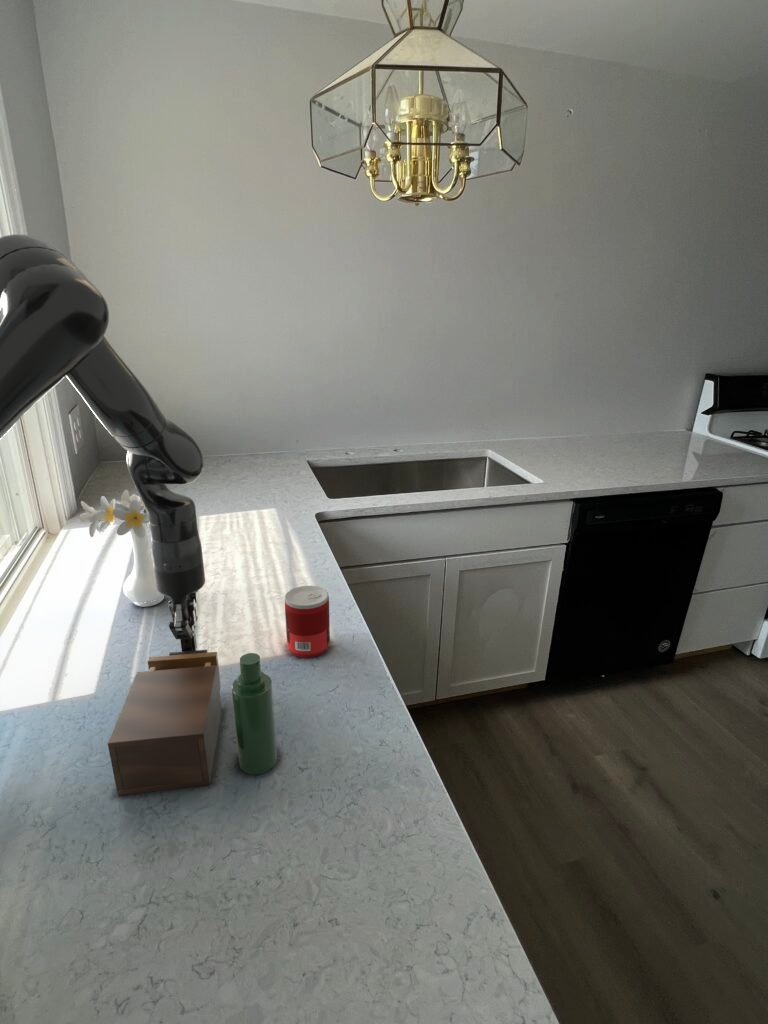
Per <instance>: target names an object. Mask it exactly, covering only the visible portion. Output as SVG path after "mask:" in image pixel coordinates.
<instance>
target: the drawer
mask: <svg viewBox="0 0 768 1024" xmlns="http://www.w3.org/2000/svg"><path fill="white" fill-rule="evenodd" d="M204 666H217V673H218V682H219V691H220V692H221V687H222V685H221V676H220V667H219V657H218V651H208V649H196V650H194V651H182V650H181V651H172V652H169V653H168V655H158V656H149V657H148V660H147V669H148V671H156V670H168V669H180V668H192V667H204Z"/></svg>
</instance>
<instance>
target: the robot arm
mask: <svg viewBox="0 0 768 1024" xmlns="http://www.w3.org/2000/svg"><path fill="white" fill-rule="evenodd" d="M109 322H110V310H109V305H108V303H107V301H106V299H105V297H104V296H103V294H102V293H101V291H100V290H99V289H98V288H97V287H96V285H95V284H94V283H93V282H92V281H91V279H89V278H88V277H87V275H86V274H84V272H82V270H81V269H80V268H79V267H78V266H77V265H76V264H75V262H73V260H71V258H69V257H68V256H67V255H66V254H65V253H64V252H63V251H61V250H60V249H59V248H58V247H56V246H54V245H52V244H51V243H49V242H48V241H46V240H43V239H41V238H39V237H36V236H32V235H28V234H8V235H7V234H6V235H2V236H0V440H2V439H3V438H4V437H5V435H6V434H7V433H8V432H9V431H10V430H11V429H12V428H13V427H14V426H15V425H16V424H17V423H18V422H19V420H20V419H21V418H23V416H24V415H25V414H26V413H27V412H28V411H29V410H30V409H31V408H32V407H34V406H35V404H37V403H38V402H39V401H40V400H41V399H42V398H44V396H45V395H47V393H49V392H50V391H51V390H52V389H53V388H54V387H56V386H57V385H58V384H59V383H60V382H61V381H62V380H64V379H65V378H67V379H68V380H69V382H70V383H71V385H72V386H73V387H74V388H75V390H76V391H77V392H78V394H79V395H80V396H81V398H82V399H83V401H84V402H85V403H86V405H87V406H88V407H89V409H90V410H91V411H92V413H93V414H94V415H95V417H96V418H97V419H98V421H99V422H100V423H101V424H102V425H103V427H104V428H105V429H106V430H107V432H108V433H109V434H110V435H111V436H112V438H114V439H115V441H116V442H117V443H118V445H120V446H121V447H122V448H123V449H124V450H125V451H126V452H127V453H126V466H127V470H128V474H129V476H130V478H131V480H132V482H133V485H134V486H135V488H136V491H137V494H138V495H139V497H141V500H142V502H143V504H144V506H145V508H144V509H146V511H147V514H148V519H149V523H148V527H149V534H150V550H151V551H150V554H151V558H152V561H153V567H154V574H155V581H156V588H157V590H158V591H159V592H160V593H161V594H163V595H164V596H167V597H169V598H171V600H169V601H168V611H169V613H170V614H171V621H169V624H168V628H169V630H170V632H171V634H172V635H173V637H174V639H175V640H180V647H181V652H182V651H194V650H197V648H198V645H197V637H196V636H197V635H196V629H197V623H196V622H197V621H198V591H200V590H201V589H202V588H204V585H206V573H205V565H204V557H203V547H202V541H201V538H200V534H199V526H198V525H199V524H198V516H197V515H198V514H197V508H196V504H195V501H194V499H193V498H191V497H189V496H187V495H184V494H180V493H177V492H176V491H173V490H171V489H170V488H169V487H168V486H167V485H189V484H191V483H192V484H193V483H194V482H196V480H198V479H199V478H200V476H201V475H202V473H203V470H204V464H205V462H204V461H205V460H204V454H203V451H202V449H201V447H200V445H199V444H198V442H197V441H196V439H195V438H194V437H192V435H190V433H188V432H187V431H186V430H185V429H183V428H182V427H181V426H180V425H178V424H176V422H174V421H173V420H171V419H170V418H168V417H167V416H165V414H164V412H163V411H162V409H161V408H160V406H159V405H158V404H157V402H156V400H155V399H154V397H153V396H152V395H151V393H150V392H149V391H148V389H147V388H146V387H145V385H144V384H143V383H142V381H141V380H140V379H139V378H138V377H137V376H136V374H135V373H134V372H133V371H132V369H131V368H130V367H129V366H128V365H127V364H126V362H125V361H124V360H123V359H122V358H121V356H120V355H119V354H118V353H117V351H116V350H115V349H114V347H113V346H112V345H111V344H110V343H109V341H108V340H107V338H106V336H105V334H106V332H107V330H108V327H109Z"/></svg>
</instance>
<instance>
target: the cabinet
mask: <svg viewBox="0 0 768 1024" xmlns="http://www.w3.org/2000/svg"><path fill="white" fill-rule="evenodd" d="M135 672H136V671H135ZM222 713H223V712H222V701H221V690H220V691H219V682H218V673H217V666H204V667H192V668H180V669H168V670H156V671H149V670H146V671H137V672H136V673H135V674H134V678H133V680H132V682H131V685H130V687H129V689H128V692H127V695H126V697H125V700H124V702H123V704H122V707H121V709H120V712H119V714H118V716H117V719H116V722H115V724H114V726H113V729H112V731H111V734H110V736H109V738H108V741H107V748H108V753H109V758H110V763H111V767H112V773H113V779H114V782H115V787H116V792H117V796H125V795H132V794H134V795H135V794H141V793H150V792H159V791H168V790H176V789H183V788H185V789H186V788H193V787H201V786H209V785H211V781H212V773H213V768H214V761H215V755H216V748H217V743H218V737H219V736H218V735H219V731H220V723H221V719H222V718H221V717H222Z"/></svg>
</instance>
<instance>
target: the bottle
mask: <svg viewBox="0 0 768 1024" xmlns="http://www.w3.org/2000/svg"><path fill="white" fill-rule="evenodd" d="M239 671H240V674H239V675H238V677H236V678H235V680H233V682H232V685H231V695H232V706H233V715H234V725H235V735H236V736H235V737H236V745H237V755H238V756H237V757H238V766H239V768H240V770H242V772H243V773H244V774H248V775H251V776H258V775H262V774H265V773H267V772H269V771H271V770H272V769H273V768H274V766H275V765H276V763H277V760H278V753H277V738H276V723H275V722H276V721H275V709H274V695H273V682H272V679H271V677H270V676H269V675H268V674H266V673H265V672H264V671H262V667H261V657H260V655H259V654H258V653H256V652H247V653H245V654H242V655H241V657H240V658H239Z"/></svg>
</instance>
